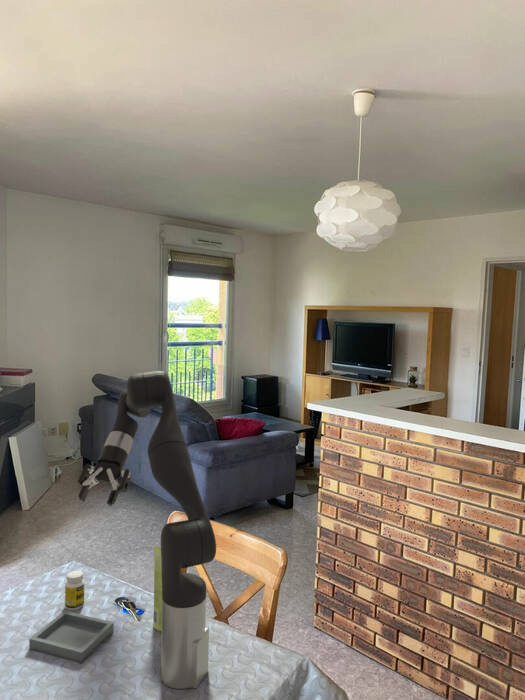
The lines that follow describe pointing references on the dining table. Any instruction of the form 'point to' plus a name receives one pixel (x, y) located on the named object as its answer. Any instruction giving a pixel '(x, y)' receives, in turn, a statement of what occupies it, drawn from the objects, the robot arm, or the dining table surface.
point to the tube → (157, 589)
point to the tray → (71, 636)
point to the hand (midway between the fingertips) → (95, 502)
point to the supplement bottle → (74, 590)
